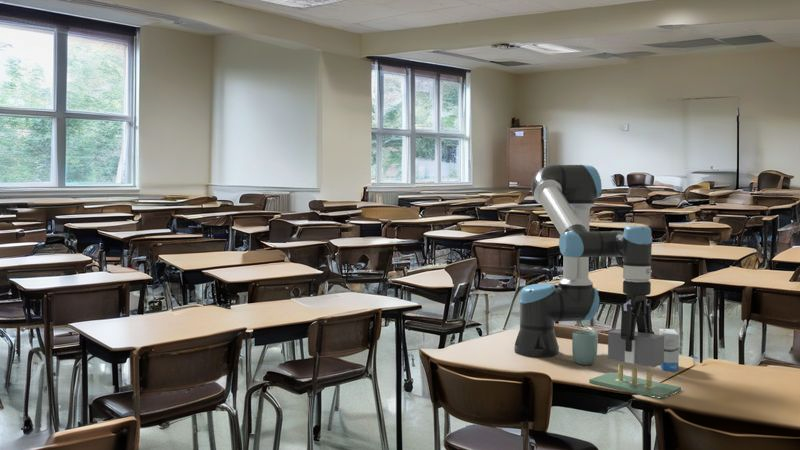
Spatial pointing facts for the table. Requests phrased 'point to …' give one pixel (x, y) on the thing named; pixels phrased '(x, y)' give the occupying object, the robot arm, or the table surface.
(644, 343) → the block
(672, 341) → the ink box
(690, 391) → the table surface
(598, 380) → the header
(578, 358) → the cup
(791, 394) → the table surface
